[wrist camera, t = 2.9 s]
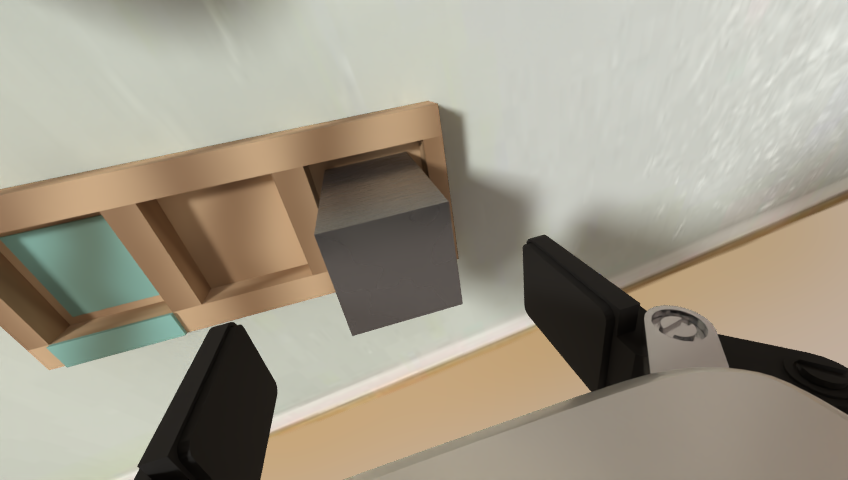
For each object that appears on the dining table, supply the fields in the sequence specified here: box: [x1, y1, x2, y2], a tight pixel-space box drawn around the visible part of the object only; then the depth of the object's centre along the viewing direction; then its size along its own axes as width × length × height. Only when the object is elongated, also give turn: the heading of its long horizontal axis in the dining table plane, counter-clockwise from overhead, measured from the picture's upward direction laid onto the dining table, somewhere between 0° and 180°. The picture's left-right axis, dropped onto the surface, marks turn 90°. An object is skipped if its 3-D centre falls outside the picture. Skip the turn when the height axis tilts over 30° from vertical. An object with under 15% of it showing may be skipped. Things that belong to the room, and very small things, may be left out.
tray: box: [0, 101, 459, 370], centre depth 17 cm, size 23×9×2 cm, turn 99°
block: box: [314, 152, 463, 336], centre depth 15 cm, size 4×4×8 cm
